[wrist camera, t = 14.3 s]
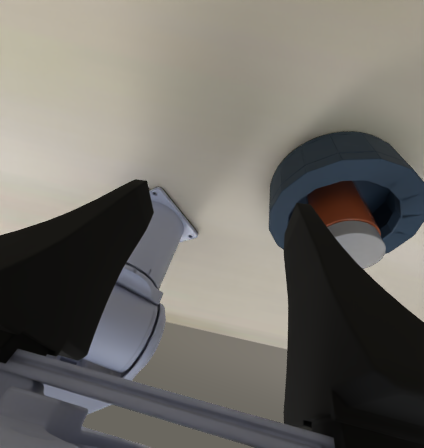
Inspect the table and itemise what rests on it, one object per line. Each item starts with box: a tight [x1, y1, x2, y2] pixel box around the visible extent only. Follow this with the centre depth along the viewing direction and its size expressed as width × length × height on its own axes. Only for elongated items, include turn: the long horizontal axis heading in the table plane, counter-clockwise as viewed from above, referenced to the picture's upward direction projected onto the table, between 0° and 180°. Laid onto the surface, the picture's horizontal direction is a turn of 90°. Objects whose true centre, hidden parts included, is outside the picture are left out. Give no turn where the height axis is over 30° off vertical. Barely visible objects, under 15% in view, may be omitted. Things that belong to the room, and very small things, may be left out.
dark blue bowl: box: [269, 131, 424, 254], centre depth 17 cm, size 10×10×5 cm
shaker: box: [306, 181, 386, 269], centre depth 16 cm, size 4×4×7 cm
